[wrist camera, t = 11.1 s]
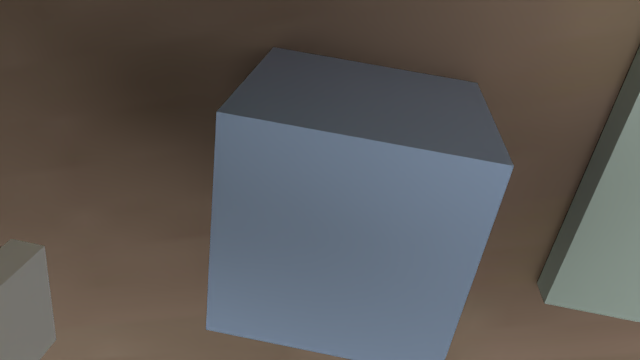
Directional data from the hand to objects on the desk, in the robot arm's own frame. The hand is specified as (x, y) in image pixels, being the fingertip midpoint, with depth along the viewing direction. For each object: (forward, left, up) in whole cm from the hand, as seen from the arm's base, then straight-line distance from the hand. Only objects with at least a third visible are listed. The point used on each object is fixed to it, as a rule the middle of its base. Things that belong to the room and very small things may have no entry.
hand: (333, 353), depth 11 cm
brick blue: (0, 0, -10) cm, 10 cm away
